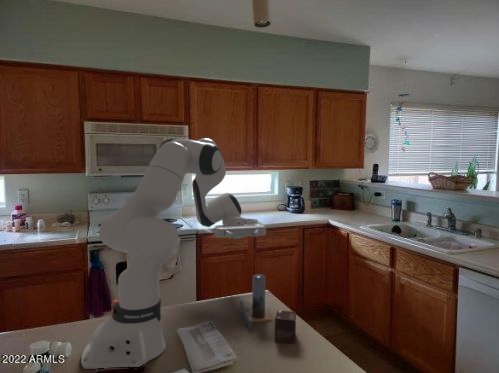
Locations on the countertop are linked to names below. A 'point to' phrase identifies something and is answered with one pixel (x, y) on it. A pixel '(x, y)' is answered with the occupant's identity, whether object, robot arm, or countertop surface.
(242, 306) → the wall
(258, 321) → the coaster
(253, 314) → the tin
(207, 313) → the countertop surface
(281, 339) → the box
